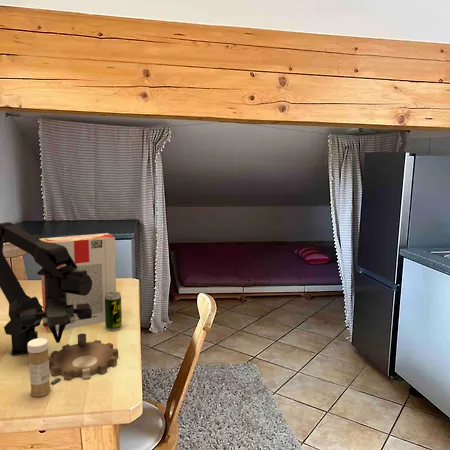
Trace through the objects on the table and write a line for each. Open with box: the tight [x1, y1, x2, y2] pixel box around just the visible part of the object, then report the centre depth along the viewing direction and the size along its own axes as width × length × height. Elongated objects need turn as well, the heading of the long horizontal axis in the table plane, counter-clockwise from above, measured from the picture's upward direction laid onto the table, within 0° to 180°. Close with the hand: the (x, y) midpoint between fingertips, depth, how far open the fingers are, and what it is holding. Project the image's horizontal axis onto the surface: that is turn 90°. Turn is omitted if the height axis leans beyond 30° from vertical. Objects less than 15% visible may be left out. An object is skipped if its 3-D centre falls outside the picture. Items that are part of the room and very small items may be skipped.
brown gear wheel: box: [48, 333, 119, 380], centre depth 117 cm, size 19×19×5 cm
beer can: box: [104, 291, 123, 332], centre depth 140 cm, size 5×5×12 cm
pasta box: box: [39, 232, 117, 334], centre depth 142 cm, size 23×8×30 cm, turn 122°
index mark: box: [50, 377, 62, 386], centre depth 107 cm, size 2×1×1 cm, turn 161°
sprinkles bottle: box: [27, 337, 51, 398], centre depth 101 cm, size 5×5×14 cm
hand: (58, 342), depth 119 cm, fingers closed
